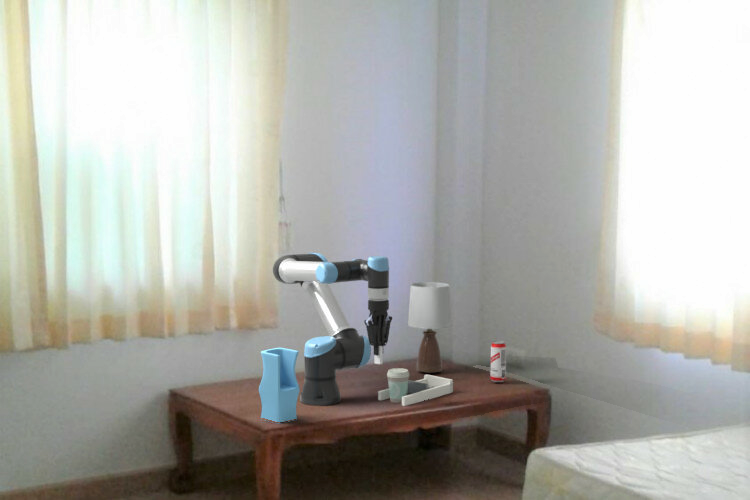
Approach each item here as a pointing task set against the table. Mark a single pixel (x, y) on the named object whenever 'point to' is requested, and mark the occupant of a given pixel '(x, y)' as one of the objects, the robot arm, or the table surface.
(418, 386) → the block
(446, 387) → the lane
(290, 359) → the vase
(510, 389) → the table surface
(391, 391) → the coffee cup
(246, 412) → the table surface
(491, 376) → the beer can
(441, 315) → the lamp
